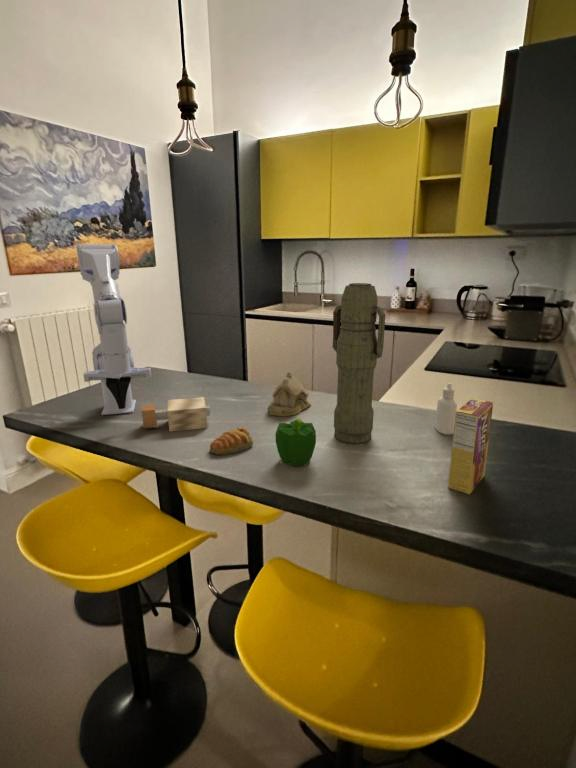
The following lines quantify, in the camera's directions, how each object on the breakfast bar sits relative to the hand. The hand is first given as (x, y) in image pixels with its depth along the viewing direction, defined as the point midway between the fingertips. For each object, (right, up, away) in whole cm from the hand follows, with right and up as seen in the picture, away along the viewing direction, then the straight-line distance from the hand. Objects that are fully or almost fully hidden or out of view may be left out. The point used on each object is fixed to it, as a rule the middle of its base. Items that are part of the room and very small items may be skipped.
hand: (122, 407), depth 102 cm
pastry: (+28, -9, -7) cm, 30 cm away
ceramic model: (+40, -1, +16) cm, 43 cm away
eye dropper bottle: (+78, -6, +1) cm, 78 cm away
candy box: (+73, -13, -22) cm, 78 cm away
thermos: (+55, -7, -3) cm, 55 cm away
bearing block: (+15, -4, +5) cm, 16 cm away
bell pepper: (+41, -11, -14) cm, 45 cm away
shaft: (+12, -4, +4) cm, 14 cm away
